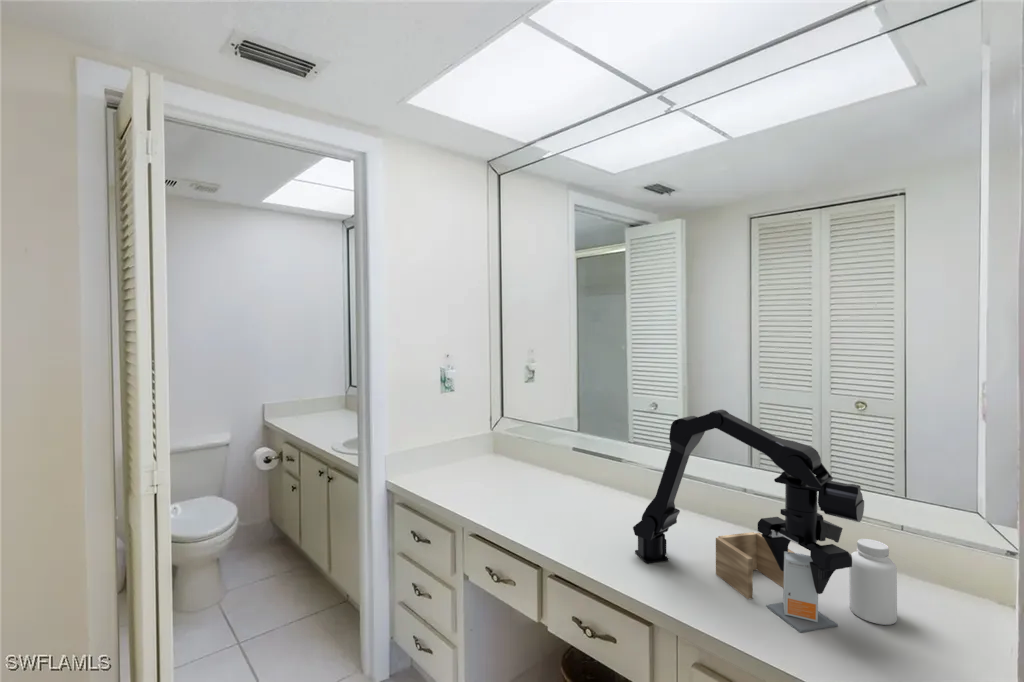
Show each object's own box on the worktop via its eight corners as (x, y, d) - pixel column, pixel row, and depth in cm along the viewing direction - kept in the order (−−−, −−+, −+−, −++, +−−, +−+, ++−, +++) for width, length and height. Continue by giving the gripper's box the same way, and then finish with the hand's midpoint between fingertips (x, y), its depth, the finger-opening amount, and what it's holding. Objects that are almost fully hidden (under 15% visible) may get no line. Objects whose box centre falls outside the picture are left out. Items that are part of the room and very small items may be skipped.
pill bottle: (875, 603, 103) (876, 535, 103) (907, 626, 95) (908, 552, 95) (840, 604, 103) (840, 535, 103) (869, 627, 95) (869, 553, 95)
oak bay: (747, 599, 105) (748, 558, 105) (714, 572, 117) (714, 536, 117) (794, 591, 108) (795, 552, 108) (757, 566, 119) (757, 531, 119)
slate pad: (800, 632, 93) (800, 630, 93) (766, 606, 102) (766, 605, 102) (837, 626, 95) (837, 624, 95) (801, 601, 104) (801, 599, 104)
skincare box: (784, 615, 98) (784, 558, 98) (783, 605, 102) (783, 550, 102) (819, 623, 95) (819, 565, 95) (816, 612, 99) (816, 556, 99)
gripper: (875, 521, 91) (875, 601, 91) (797, 489, 109) (797, 556, 110) (827, 526, 89) (827, 609, 89) (755, 493, 107) (755, 562, 107)
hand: (800, 581), depth 99 cm, fingers open, 9 cm apart
